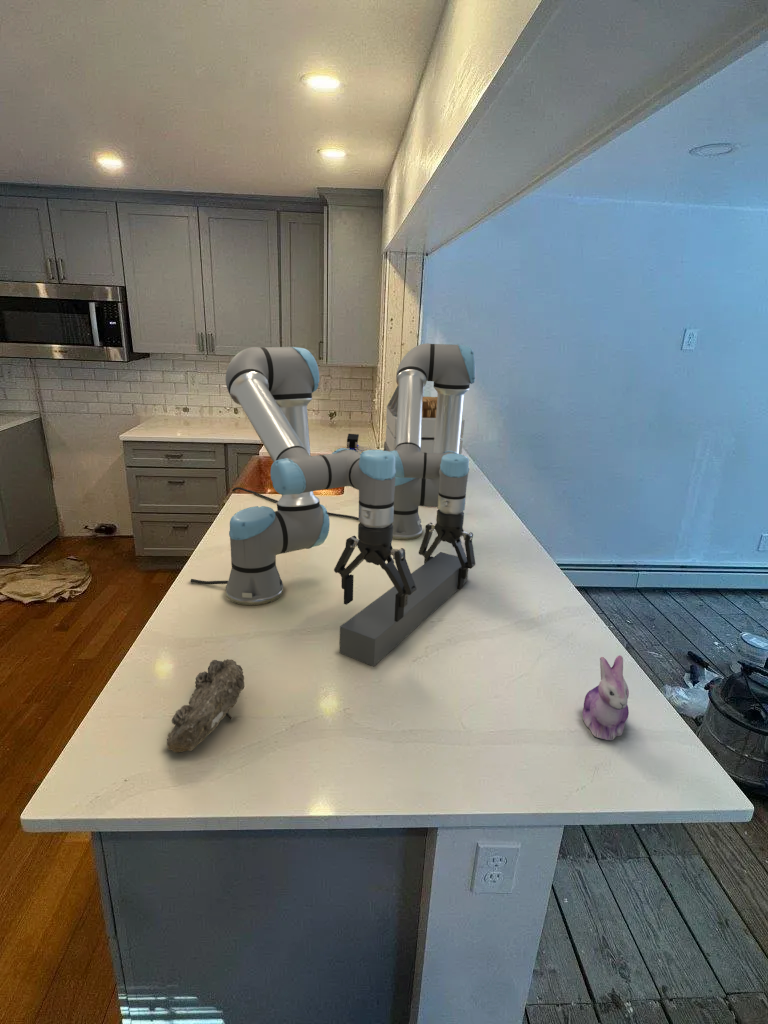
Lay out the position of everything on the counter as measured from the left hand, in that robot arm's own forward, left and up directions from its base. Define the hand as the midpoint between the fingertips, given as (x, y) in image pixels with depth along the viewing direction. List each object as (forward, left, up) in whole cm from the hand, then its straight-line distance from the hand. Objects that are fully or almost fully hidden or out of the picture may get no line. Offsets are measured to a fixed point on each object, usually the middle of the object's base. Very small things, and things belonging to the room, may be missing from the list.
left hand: (373, 610), depth 129 cm
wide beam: (-2, +20, -10) cm, 22 cm away
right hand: (-4, +40, -10) cm, 41 cm away
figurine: (+51, +9, -10) cm, 53 cm away
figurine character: (-130, +146, -10) cm, 195 cm away
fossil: (-8, -38, -10) cm, 40 cm away
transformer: (-76, +133, -10) cm, 153 cm away
